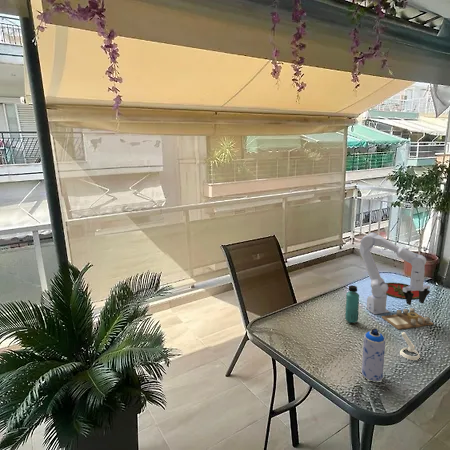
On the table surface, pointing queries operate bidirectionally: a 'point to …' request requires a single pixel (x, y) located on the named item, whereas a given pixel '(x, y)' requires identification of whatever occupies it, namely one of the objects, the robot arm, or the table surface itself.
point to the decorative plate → (399, 291)
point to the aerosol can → (373, 355)
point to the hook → (411, 348)
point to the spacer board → (406, 320)
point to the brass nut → (412, 316)
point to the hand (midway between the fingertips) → (414, 303)
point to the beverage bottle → (352, 304)
